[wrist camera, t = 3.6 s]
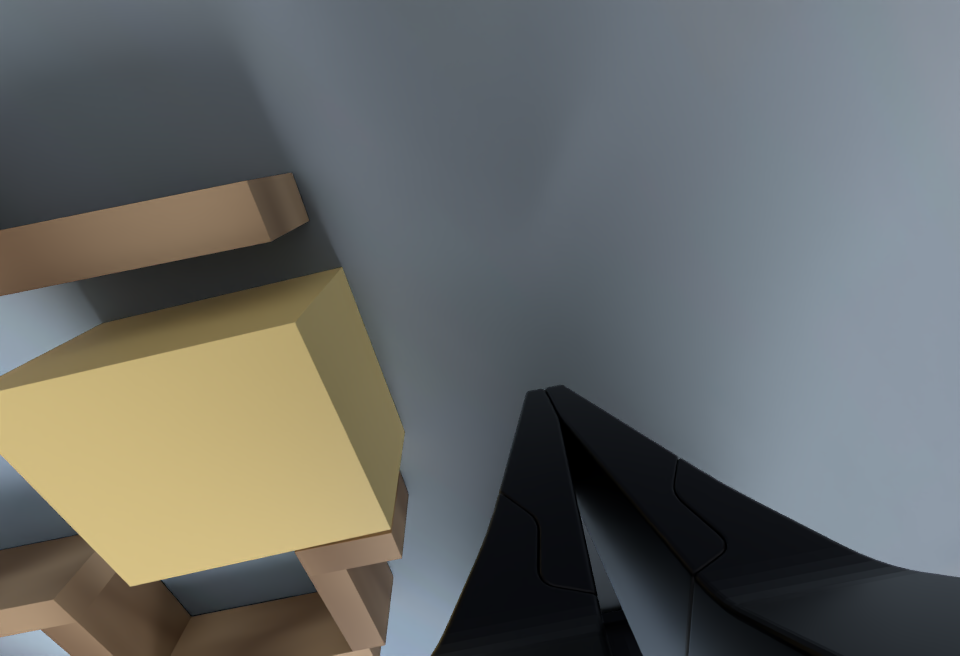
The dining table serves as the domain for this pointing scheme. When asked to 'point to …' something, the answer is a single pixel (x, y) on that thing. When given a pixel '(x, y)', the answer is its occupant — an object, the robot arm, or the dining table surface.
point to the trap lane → (150, 606)
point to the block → (211, 429)
